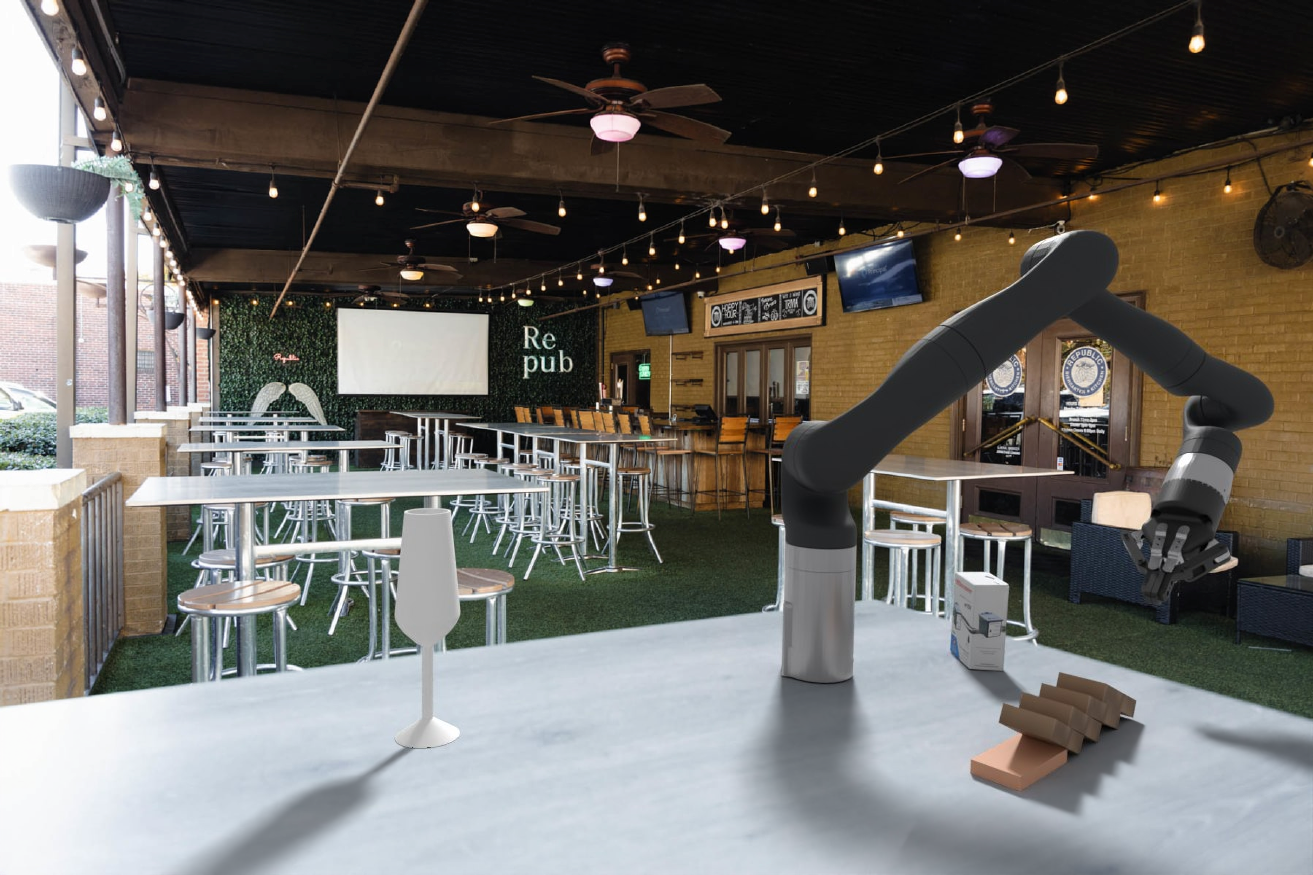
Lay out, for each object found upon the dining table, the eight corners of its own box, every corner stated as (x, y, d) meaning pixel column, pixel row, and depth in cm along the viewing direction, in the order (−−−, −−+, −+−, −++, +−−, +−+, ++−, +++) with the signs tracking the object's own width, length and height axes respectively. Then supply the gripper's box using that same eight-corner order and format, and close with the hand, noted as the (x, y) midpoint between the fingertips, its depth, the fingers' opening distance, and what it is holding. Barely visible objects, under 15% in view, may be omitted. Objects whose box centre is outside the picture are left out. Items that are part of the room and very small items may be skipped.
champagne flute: (428, 718, 96) (428, 505, 94) (473, 731, 92) (473, 510, 91) (380, 738, 90) (380, 512, 89) (427, 753, 87) (426, 518, 85)
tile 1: (1091, 689, 103) (1059, 671, 97) (1136, 700, 99) (1105, 683, 93) (1088, 705, 102) (1055, 689, 96) (1133, 717, 99) (1102, 701, 92)
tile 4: (1035, 720, 93) (1003, 702, 86) (1084, 735, 89) (1055, 718, 82) (1030, 738, 92) (998, 722, 85) (1079, 754, 89) (1050, 739, 82)
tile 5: (1019, 733, 91) (970, 759, 84) (1067, 748, 87) (1020, 776, 80) (1018, 751, 91) (970, 778, 84) (1066, 767, 87) (1019, 797, 80)
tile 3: (1054, 709, 96) (1022, 691, 89) (1101, 723, 92) (1072, 705, 86) (1050, 727, 96) (1017, 710, 89) (1097, 742, 92) (1067, 725, 85)
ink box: (949, 651, 124) (951, 570, 123) (984, 651, 124) (987, 571, 123) (969, 670, 115) (972, 584, 115) (1007, 671, 115) (1010, 584, 114)
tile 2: (1074, 699, 100) (1041, 682, 93) (1120, 711, 96) (1089, 695, 90) (1071, 716, 99) (1037, 701, 93) (1117, 729, 96) (1085, 714, 89)
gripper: (1132, 472, 117) (1088, 572, 109) (1245, 481, 106) (1205, 592, 99) (1146, 508, 120) (1104, 607, 113) (1257, 519, 110) (1219, 629, 103)
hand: (1152, 600), depth 106 cm, fingers closed
